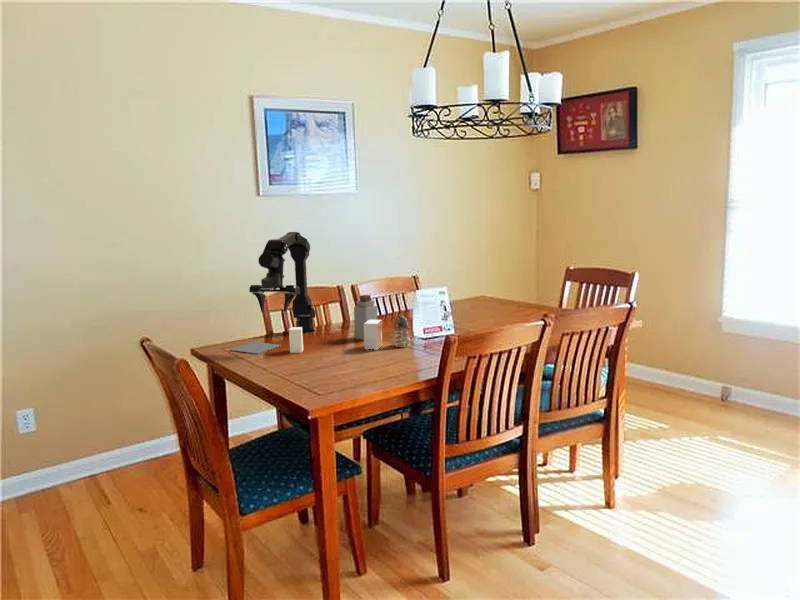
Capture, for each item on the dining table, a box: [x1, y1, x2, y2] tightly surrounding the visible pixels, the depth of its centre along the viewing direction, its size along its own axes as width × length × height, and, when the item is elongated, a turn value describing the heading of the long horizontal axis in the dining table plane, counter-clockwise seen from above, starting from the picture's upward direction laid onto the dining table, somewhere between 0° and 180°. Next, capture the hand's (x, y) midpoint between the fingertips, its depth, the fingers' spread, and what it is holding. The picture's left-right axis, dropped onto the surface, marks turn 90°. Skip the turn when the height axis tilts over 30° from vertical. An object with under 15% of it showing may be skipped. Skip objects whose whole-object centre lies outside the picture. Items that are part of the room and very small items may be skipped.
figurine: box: [392, 315, 412, 348], centre depth 248 cm, size 7×7×12 cm
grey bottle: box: [353, 294, 379, 340], centre depth 261 cm, size 7×7×18 cm
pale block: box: [288, 326, 304, 354], centre depth 244 cm, size 4×4×9 cm
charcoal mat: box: [230, 341, 282, 355], centre depth 250 cm, size 14×14×1 cm
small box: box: [363, 319, 384, 351], centre depth 246 cm, size 8×6×10 cm
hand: (273, 311), depth 244 cm, fingers open, 9 cm apart
